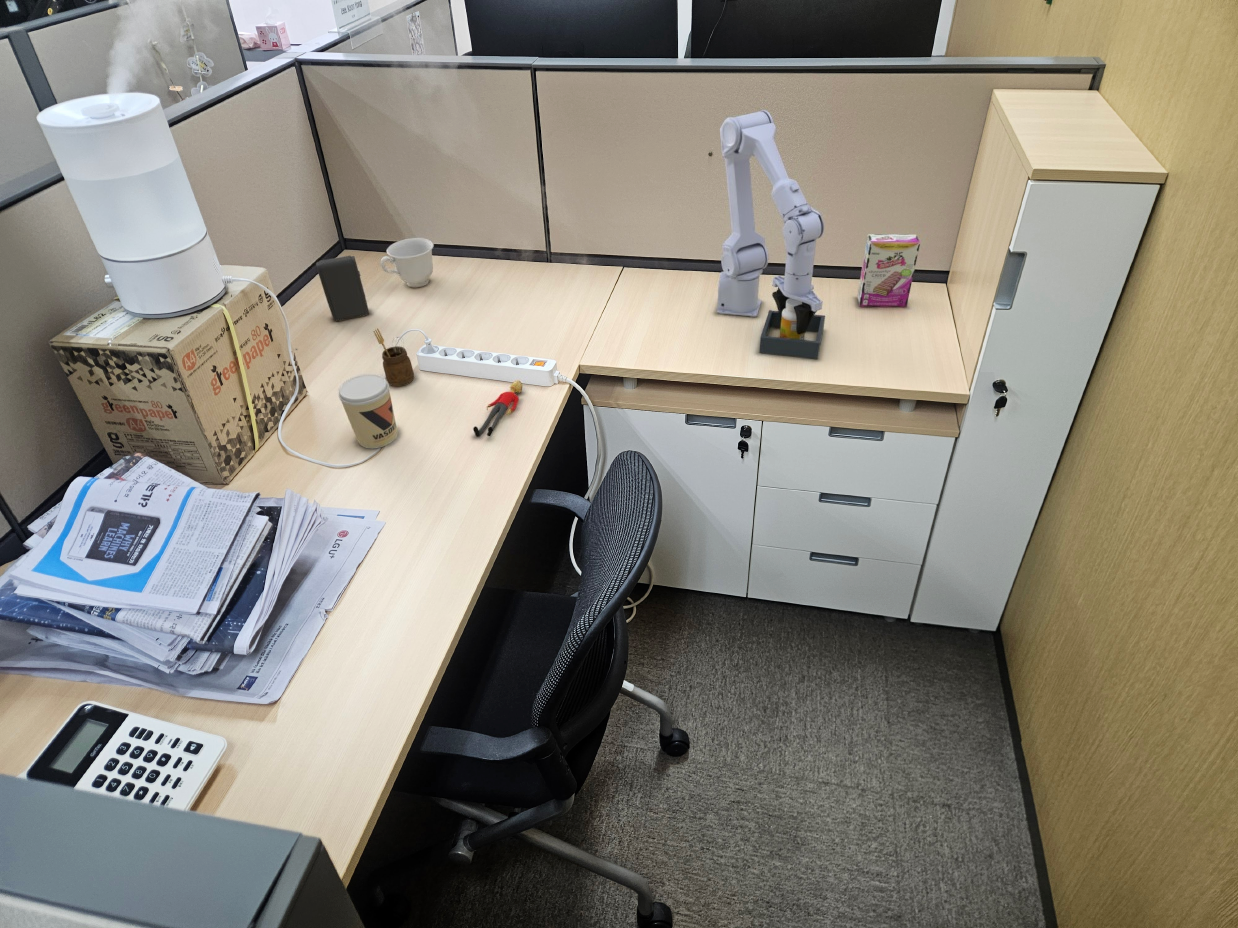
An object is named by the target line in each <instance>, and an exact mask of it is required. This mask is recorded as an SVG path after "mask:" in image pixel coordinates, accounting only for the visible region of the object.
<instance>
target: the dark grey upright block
mask: <svg viewBox="0 0 1238 928" xmlns="http://www.w3.org/2000/svg"><path fill="white" fill-rule="evenodd" d="M355 257H356V256H354V255H345V256H339V257H333V258H328V259H321V260H319V261H317V262H316V263H315V265H316V266H315V267H316V270H317V274H318V278H319V280H320V283H321V286H322V289H323V292H324V296H325V299H326V302H327V305H328V307H329V311H330V314H331V317H332V319H333V321H334V322H335V321H337V322H340V321H345V320H350V319H355V318H361V317H366V316H367V315H369V314H370V310H369V307H368V301H367V298H366V293H365V289H364V286H363V283H362V277H361V272H360V270H359V267H358V263H357V261H356V258H355Z"/></svg>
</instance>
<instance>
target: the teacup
mask: <svg viewBox="0 0 1238 928" xmlns="http://www.w3.org/2000/svg"><path fill="white" fill-rule="evenodd" d="M434 246H435V244H434V243H433V241H431V240H430V239H427V238H423V237H410V238H406V239H401V240H398V241H396V242H394V243H392V244H390V245H389V246H388V247H387V248H386V254H387V255H388V256H387V255H385V256H383V257H382V258H381V259H380V267H381V270H382V271H384V272H385V273H387V274H395V275H398V277H399V278H400V280H402V281H404V282H406V285H407V286H408V287H411V288H421V287H425V286H427V285H428V284H429V282H430V280H429V278H430V277H431V276H432V274H433V271H434V263H433V248H434ZM387 261H388V262H389V264H391V265H393V266H394V268H395V269H389V268H387V267H386V262H387Z"/></svg>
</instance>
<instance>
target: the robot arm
mask: <svg viewBox="0 0 1238 928" xmlns="http://www.w3.org/2000/svg"><path fill="white" fill-rule="evenodd" d="M776 131H777V127H776V125H775V122H774V119H773V117H772V115H771V113H770V112H769V111H768V110H766V109H761V110H759V111H756V112H751V113H747V114H742V115H738V116H733V117H732V116H729V117H727V118H725V119H724V121H723V122H722V124H721V126H720V128H719V136H720V145H721V147H720V148H721V156H722V158H724V164H725V175H726V176H725V177H726V186H727V187H726V188H727V198H728V207H729V217H730V219H729V220H730V228H731V234H730V235H729V236H728V237H727V239H726V240H725V241H724V242H723V243H722V245H721V247H722V254H721V260H720V263H721V268H722V270H723V271H721V272H720V274H719V279H718V286H717V287H718V288H717V310H716V313H717V314H723V315H730V316H731V315H733V316H743V317H752V318H753V317H757V316H758V313H759V310H760V307H761V304H762V300H761V299H759V291H760V277H761V276H760V275H762V274H763V271H764V270H763V269H766V268H767V267H768V265H769V259H770V257H769V251H768V248H767V246H766V245H767V244H766V238H765V237H764V236H763V235H762V234H760V233H759V232H757V231H756V225H755V223H756V222H755V213H754V211H755V210H754V199H753V187H752V176H751V175H752V174H751V164H750V159H751V158H752V157H755V159H756V160H757V162H758V164H759V165H760V167H761V168H762V170H763V172H764V174H765V175H766V177H767V179H768V181H769V182H770V184H771V186H772V190H771V195H770V197H771V198H772V201H773V203H774V205H775V206H776V209H777V211H778V213H779V215H780V217H781V219H782V221H783V224H784V225H783V226H782V236H783V239H784V249H785V251H786V256H785V266H784V267H785V269H784V277H783V276H782V275H777V276H774V277H772V283H771V286H772V287H774V288H777V289H776V290H775V291H773V292H772V294H771V296H772V298H773V300H774V302H775V305H776V308H777V311H778V312H779V318H780V322H781V318H782V311H783V310H784V309H785V308H786V301H787V299H789V298H792V299H795V300H798V301H801V302H802V304H800V305H797V306H794V310H795V313H796V320H797V324H796V331H797V334H802V333H805V334H806V333H807V332H808V331H807V328H808V326H809V323H810V321H811V319H812V317H813V316H814V315H816V313H817V312H818V311H821V310H822V309H823V300H821V299H820V298H819V297H818V295H817V294H816V293H815V292H814V289H815V286H814V285H813V284H812V280H813V274H814V273H813V272H814V266H815V265H814V264H815V255H816V245H817V240H818V239H820V238H821V237H822V236H823V235H824V230H825V223H824V220H823V217H822V214H821V213H820V212H819V211H818V210H816V209H814V207H813V206H812V205H809V203H808V201H807V199H806V197H805V195H804V194H803V191H802V189H801V187H800V185H799V183H798V181H797V180H795V179H792V178H790V177H789V175H788V173H787V169H786V167H785V164H784V162H783V159H782V156H781V154H780V152H779V149H778V146H777V144H776V141H775V139H776V133H777V132H776Z"/></svg>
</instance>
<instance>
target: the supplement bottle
mask: <svg viewBox="0 0 1238 928" xmlns="http://www.w3.org/2000/svg"><path fill="white" fill-rule="evenodd" d="M800 304H802V302H801V301H798V300H795V299H792V298H789V299H787V301H786V308H785V309H784V310H783V311H782V318H781V328H779V329H780V331H779V337H780V338H789V339H799V340H805V336H806V332H805V333H802V334H797V331H796V324H797V320H796V313H795V310H794V306H797V305H800Z"/></svg>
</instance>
